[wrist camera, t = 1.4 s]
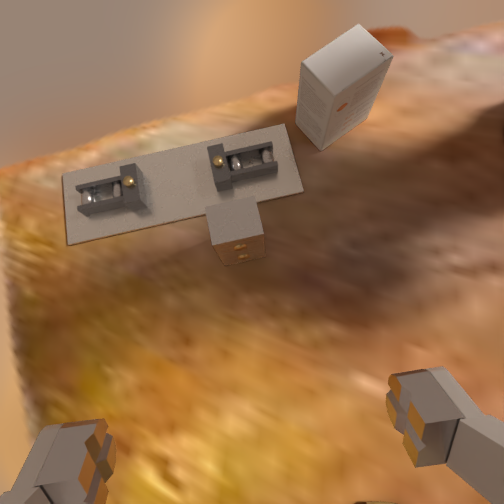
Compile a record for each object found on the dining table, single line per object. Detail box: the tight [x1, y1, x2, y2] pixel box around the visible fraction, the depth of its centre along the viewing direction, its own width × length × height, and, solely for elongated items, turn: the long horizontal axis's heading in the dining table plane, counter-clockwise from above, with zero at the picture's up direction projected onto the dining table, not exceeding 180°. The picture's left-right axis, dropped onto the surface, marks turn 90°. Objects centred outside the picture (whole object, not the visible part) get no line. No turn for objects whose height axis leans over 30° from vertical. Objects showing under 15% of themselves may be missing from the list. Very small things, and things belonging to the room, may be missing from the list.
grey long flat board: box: [63, 123, 304, 245], centre depth 42 cm, size 30×10×4 cm, turn 102°
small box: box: [295, 24, 393, 151], centre depth 39 cm, size 8×6×10 cm
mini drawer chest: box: [205, 196, 266, 266], centre depth 36 cm, size 5×4×9 cm
